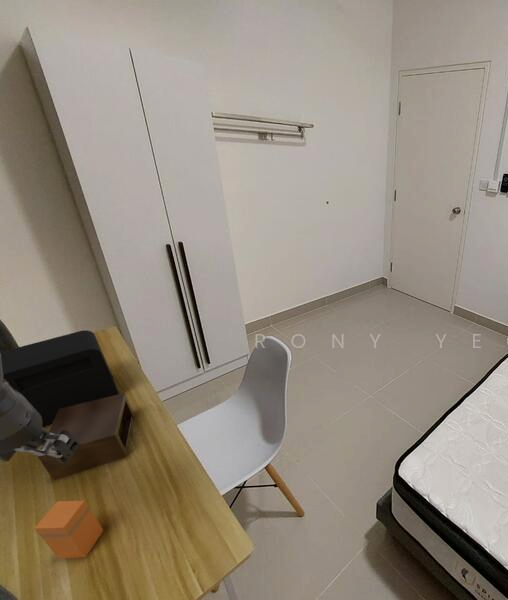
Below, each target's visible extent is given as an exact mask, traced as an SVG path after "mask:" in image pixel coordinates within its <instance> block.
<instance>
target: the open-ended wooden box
mask: <svg viewBox="0 0 508 600" xmlns="http://www.w3.org/2000/svg"><path fill="white" fill-rule="evenodd" d="M133 419H135V413H134V411H133V408H132V406H131V404H130V402H129V399H128V397H127V394H126V393H125V392H122V393H119V394H118V395H114V396H110V397H106V398H102V399H98V400H94V401H89V402H85V403H81V404H77V405H73V406H69V407H65V408H61V409H59V410H58V412H57V414H56V417H55V419H54V421H53V423H52V424H51V425H50V428H49V430H48V431H49V432H50V433H53V434H58V435H59V433H60V432H61V431H62V430H67V431H69V432H70V433H71V434H72V435H73V436H74V437H75V438H76V439H77V440H78V441H79V442H80V445H79V446H78V447H77V449H76V450H75V452H74V454H73V456H72V457H71V458H70V460H69V461H67V462H66V463H65V464H62V463H59V462H58V461H57V460H56V459H55V458H54V457H53V456H50V455H43V456H38V455H37V458H38V459H39V461H40V462H41V464H42V466H43V467H44V468H45V470H46V471H47V473H48V474H49V476H50V477H51V479H52V480H53V481H56V480H59V479H62V478H65V477H68V476H72V475H75V474H78V473H82V472H85V471H88V470H91V469H94V468H97V467H100V466H103V465H107V464H110V463H113V462H116V461H119V460H122V459H126V458H127V456H128V451H127V450H128V446H129V441H130V435H131V432H132V431H131V429H132V425H133V421H134V420H133ZM122 422H125V424H124V430H123V434H122V439H121V437H120V435H119V432H120V427H121V423H122ZM46 443H47V441H46V442H45V443H44V444H43V445H41V447H40V450H42V448H43V447H44V446H45V444H46ZM52 450H53V451H56V450H57V449H56V448H52Z"/></svg>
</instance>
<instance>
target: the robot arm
mask: <svg viewBox="0 0 508 600" xmlns="http://www.w3.org/2000/svg"><path fill="white" fill-rule="evenodd" d="M1 353H2V352H0V461H2V462H9V461H10V460H11V459H12V458H13V456H14V455H15V454H16V452H18V453H24V452H25V453H29V454H31V455H36V456H37V457H38V456H43V455H50V456H53V457H54V458H55V459H56V460H57V461H58V462H59V463H62V464H65V463H66V462H67V461H69V460H70V458H71V457H72V456H73V454H74V452H75V450H76V449H77V447H78V446H79V445H80V442H79V441H78V440H77V439H76V438H75V437H74V436H73V435H72V434H71V433H70V432H69V431H67V430H62V431H61V432H60V433H59V435H58V434H53V433H50V432H49V430H46V429H45V428H42V417H41V415H40V414H39V413H38V411H37V410H36V409H35V408H34V407H33V406H32V405H31V404H30V403H29V401H28V400H27V399H26V398H25V397H24V396H23V395H22V394H21V393H19V392H18V391H16V390H15V389H14V388H13V387H12V386H11V385H10V384H9V383H8V382H7V381H6V379H5V378H4V373H3V368H2V360H1ZM46 441H47V443H46V444H45V446H44V447H43V448H42V446H43V444H44V443H45V442H46ZM41 448H42V450H41ZM52 448H56V449H57V450H56V451H53V450H52Z"/></svg>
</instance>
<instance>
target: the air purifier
mask: <svg viewBox="0 0 508 600" xmlns="http://www.w3.org/2000/svg"><path fill="white" fill-rule="evenodd" d="M0 353H1V360H2V368H3V373H4V378H5V379H6V381H7V382H8V383H9V384H10V385H11V386H12V387H13V388H14V389H15V390H16V391H18V392H19V393H21V394H22V395H23V396H24V397H25V398H26V399H27V400H28V401H29V403H30V404H31V405H32V406H33V407H34V408H35V409H36V410H37V411H38V413H39V414H40V415H41V417H42V428H43V429H45V428H46V427H49V426H52V423H53V421H54V419H55V417H56V414H57V412H58V410H59V409H61V408H65V407H69V406H73V405H77V404H81V403H85V402H89V401H94V400H98V399H102V398H106V397H110V396H114V395H118V394H120V393H119V390H118V387H117V385H116V382H115V379H114V375H113V374H112V371H111V368H110V367H109V364H108V363H107V359H106V357H105V355H104V353H103V351H102V348H101V346H100V343H99V342H98V339H97V337H96V334H95V333H94V332H92V331H91V330H87V329H85V330H83V329H82V330H80V331H75V332H71V333H68V334H64V335H60V336H56V337H53V338H48V339H44V340H41V341H37V342H34V343H29V344H25V345H22V346H19V347H14V348H10V349H7V350H5V351H3V352H0Z"/></svg>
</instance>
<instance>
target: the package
mask: <svg viewBox="0 0 508 600" xmlns="http://www.w3.org/2000/svg"><path fill="white" fill-rule="evenodd" d="M34 530H35V531H36V533H37V534H38V535H39V537H40V538H41V539H42V540H43V542H44V543H45V544H46V545H47V546H48V547H49V549H50V550H51V551H52V552H53V554H54V555H55V556H56V557H57V558H58V559H76V558H87V556H88V554H89V553H90V551H91V550H92V548H93V547H94V545H95V544H96V542H97V540H98V539H99V538H100V536H101V535H102V533H103V532H104V529H103V527H102V525H101V523H100V522H99V521H98V519H97V518H96V516H95V514H94V513H93V511H92V510H91V508H90V507H89V505H88V503H87V502H86V500H61V501H60V500H59V501H56V502H55V504H53V506H52V507H51V508H50V510H48V512H47V513H46V514H45V515H44V517H43V518H42V519H41V520H40V521H39V523H38V524H37V525H36V526H35V527H34Z"/></svg>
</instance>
